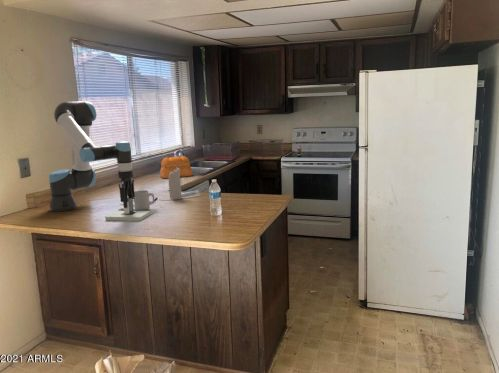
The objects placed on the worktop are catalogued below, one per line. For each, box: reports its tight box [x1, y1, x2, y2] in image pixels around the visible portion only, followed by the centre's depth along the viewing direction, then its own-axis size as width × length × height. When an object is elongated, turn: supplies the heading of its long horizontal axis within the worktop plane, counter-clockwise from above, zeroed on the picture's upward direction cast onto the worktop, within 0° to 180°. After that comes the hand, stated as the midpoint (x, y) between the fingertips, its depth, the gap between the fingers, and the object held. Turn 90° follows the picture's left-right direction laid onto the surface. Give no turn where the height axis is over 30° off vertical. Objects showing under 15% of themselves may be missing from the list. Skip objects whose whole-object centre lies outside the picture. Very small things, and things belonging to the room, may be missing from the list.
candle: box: [159, 168, 183, 201], centre depth 273 cm, size 7×14×20 cm, turn 108°
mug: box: [133, 189, 156, 209], centre depth 248 cm, size 12×8×11 cm
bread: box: [159, 155, 193, 179], centre depth 361 cm, size 16×26×17 cm, turn 113°
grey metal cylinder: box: [125, 197, 134, 215], centre depth 233 cm, size 5×5×10 cm
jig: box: [104, 207, 153, 222], centre depth 234 cm, size 20×16×3 cm
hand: (129, 212), depth 234 cm, fingers closed on grey metal cylinder, 5 cm apart
